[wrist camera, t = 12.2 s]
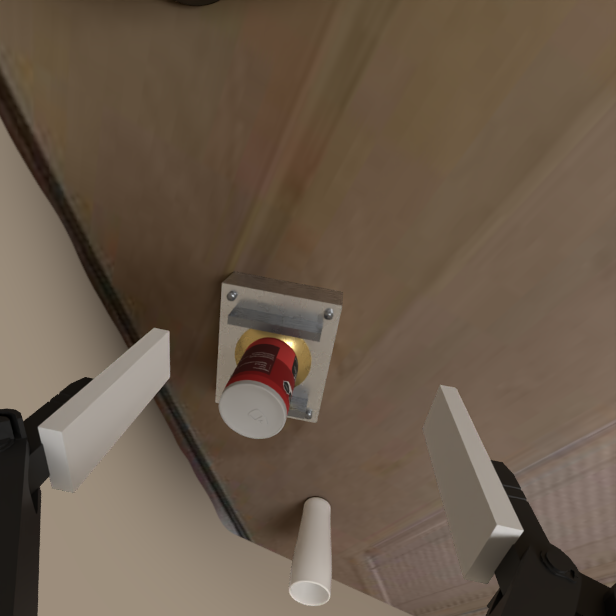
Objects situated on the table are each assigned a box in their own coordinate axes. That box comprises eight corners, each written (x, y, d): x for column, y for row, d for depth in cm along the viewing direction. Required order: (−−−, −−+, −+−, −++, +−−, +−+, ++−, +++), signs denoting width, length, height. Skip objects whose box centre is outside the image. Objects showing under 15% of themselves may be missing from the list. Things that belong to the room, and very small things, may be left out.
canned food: (279, 391, 49) (262, 450, 39) (235, 361, 48) (205, 413, 38) (311, 358, 47) (300, 412, 36) (264, 324, 45) (240, 371, 35)
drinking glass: (307, 488, 65) (296, 575, 51) (340, 500, 65) (337, 590, 51) (295, 509, 67) (282, 597, 54) (326, 520, 68) (321, 611, 54)
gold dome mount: (233, 271, 48) (213, 290, 41) (342, 292, 48) (341, 315, 40) (226, 382, 57) (208, 415, 49) (319, 401, 56) (314, 437, 49)
